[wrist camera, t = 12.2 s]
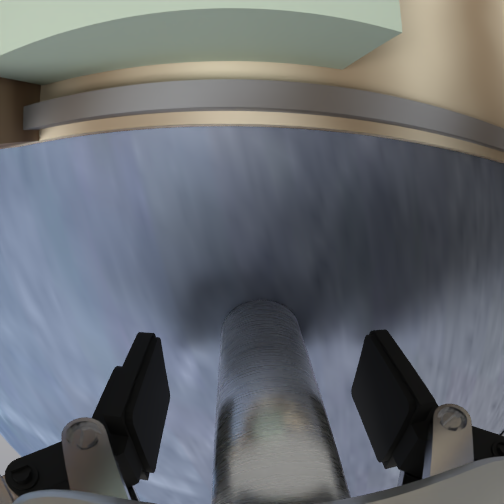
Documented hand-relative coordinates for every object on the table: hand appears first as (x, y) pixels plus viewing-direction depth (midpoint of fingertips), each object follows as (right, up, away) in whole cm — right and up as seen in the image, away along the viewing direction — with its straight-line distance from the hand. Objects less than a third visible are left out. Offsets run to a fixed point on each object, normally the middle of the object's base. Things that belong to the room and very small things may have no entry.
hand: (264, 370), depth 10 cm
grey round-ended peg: (0, +1, +2) cm, 2 cm away
